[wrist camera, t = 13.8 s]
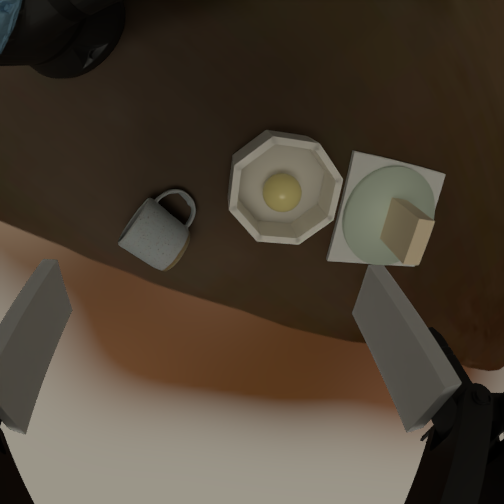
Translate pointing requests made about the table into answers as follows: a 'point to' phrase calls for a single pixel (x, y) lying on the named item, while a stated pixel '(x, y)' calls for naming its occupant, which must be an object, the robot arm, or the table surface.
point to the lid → (389, 216)
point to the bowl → (283, 187)
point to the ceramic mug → (157, 233)
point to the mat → (357, 171)
